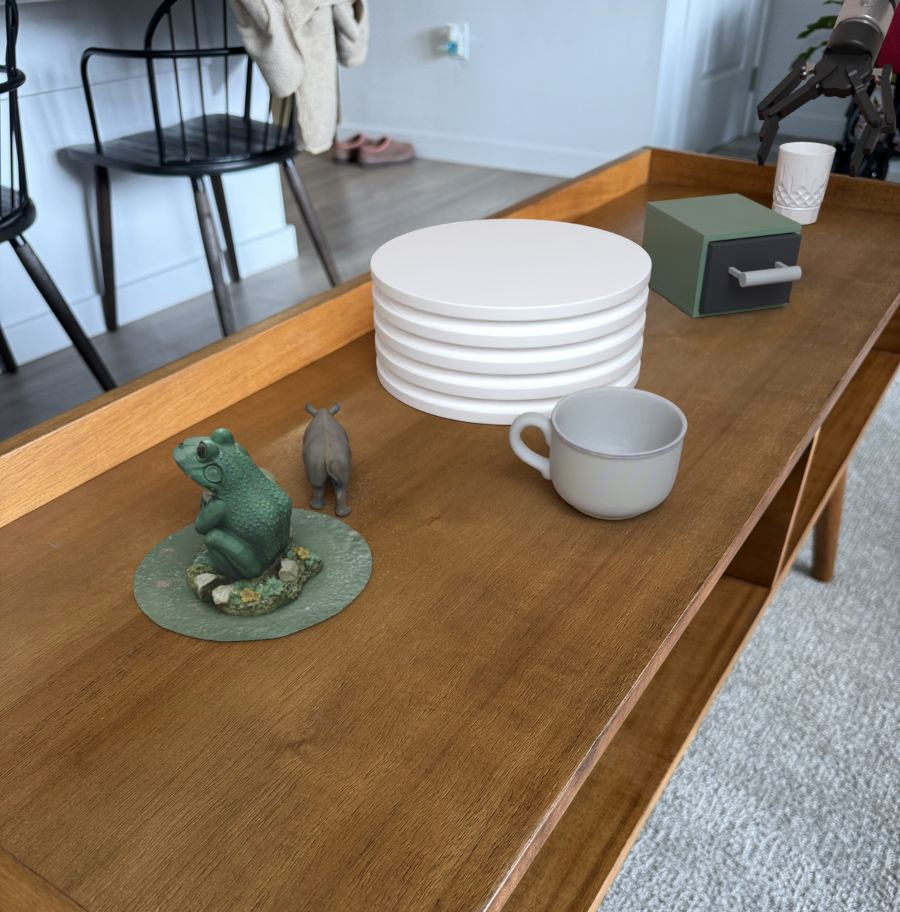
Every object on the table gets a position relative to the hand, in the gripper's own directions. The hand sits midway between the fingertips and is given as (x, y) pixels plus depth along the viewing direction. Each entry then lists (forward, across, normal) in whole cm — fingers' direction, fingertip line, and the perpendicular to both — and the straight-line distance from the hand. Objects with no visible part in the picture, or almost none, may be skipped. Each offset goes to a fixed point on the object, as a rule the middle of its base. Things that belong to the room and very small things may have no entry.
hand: (805, 166), depth 142 cm
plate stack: (+55, -9, -45) cm, 72 cm away
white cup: (+6, 0, +5) cm, 8 cm away
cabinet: (+32, +1, -22) cm, 39 cm away
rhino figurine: (+76, -10, -65) cm, 101 cm away
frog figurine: (+86, -6, -75) cm, 114 cm away
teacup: (+70, +11, -59) cm, 92 cm away
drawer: (+33, +4, -24) cm, 41 cm away
